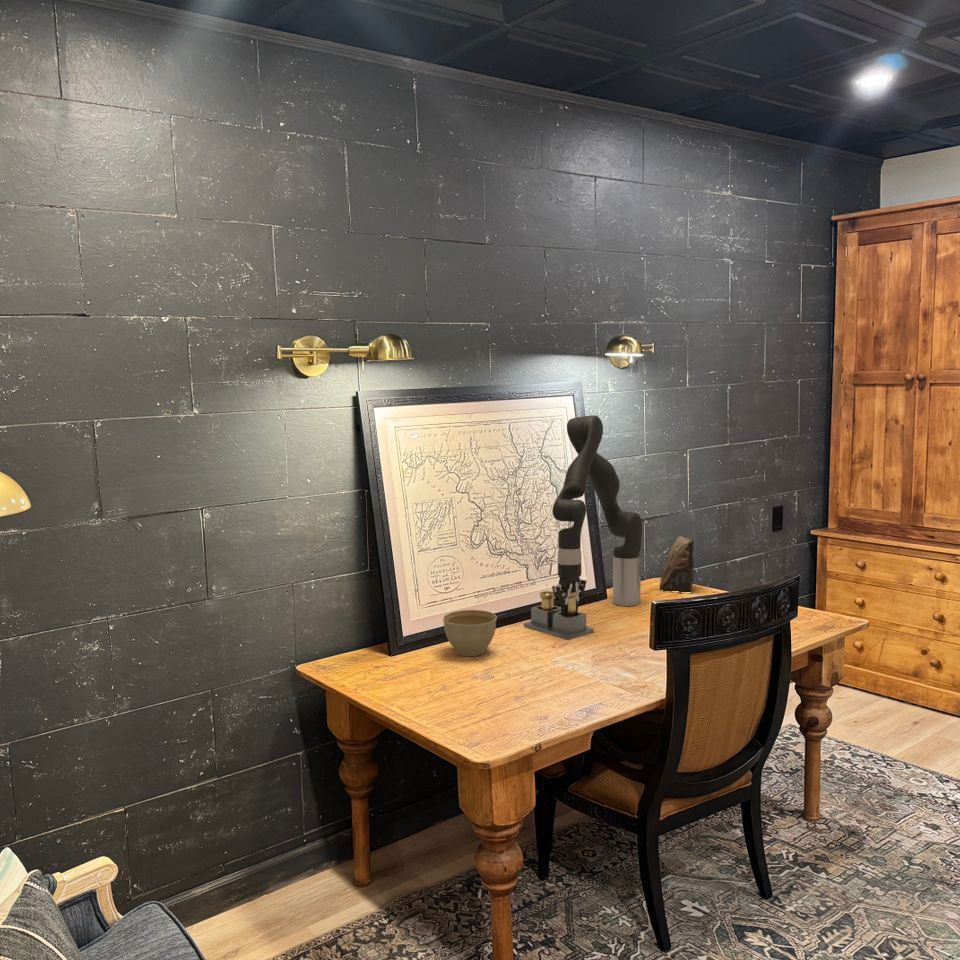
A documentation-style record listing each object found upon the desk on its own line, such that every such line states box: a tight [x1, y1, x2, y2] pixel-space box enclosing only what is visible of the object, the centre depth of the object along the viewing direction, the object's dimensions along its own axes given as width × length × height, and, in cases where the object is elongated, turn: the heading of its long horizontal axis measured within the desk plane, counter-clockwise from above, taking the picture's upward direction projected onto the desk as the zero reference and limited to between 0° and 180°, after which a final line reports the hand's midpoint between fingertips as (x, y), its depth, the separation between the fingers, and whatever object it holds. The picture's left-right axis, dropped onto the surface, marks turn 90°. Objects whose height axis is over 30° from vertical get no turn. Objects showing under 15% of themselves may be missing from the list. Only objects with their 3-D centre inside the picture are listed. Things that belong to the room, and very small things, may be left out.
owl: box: [659, 534, 695, 592], centre depth 344 cm, size 13×13×20 cm
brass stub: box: [562, 592, 577, 617], centre depth 291 cm, size 5×5×10 cm
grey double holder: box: [523, 590, 595, 641], centre depth 295 cm, size 12×20×11 cm, turn 41°
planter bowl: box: [442, 609, 498, 657], centre depth 273 cm, size 16×16×11 cm
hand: (569, 613), depth 291 cm, fingers closed on brass stub, 4 cm apart
